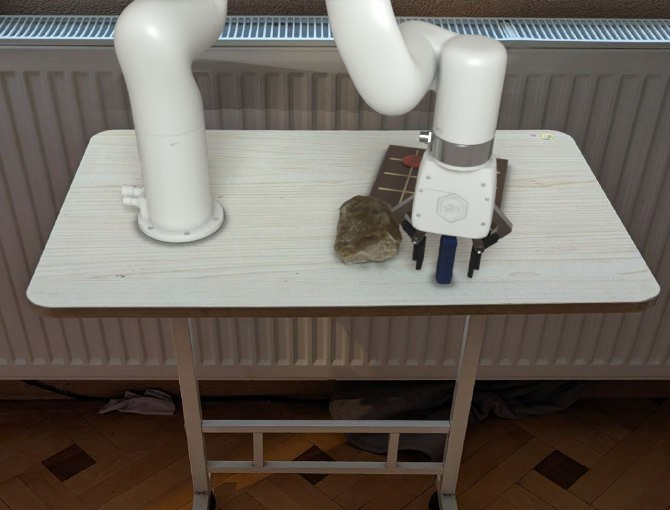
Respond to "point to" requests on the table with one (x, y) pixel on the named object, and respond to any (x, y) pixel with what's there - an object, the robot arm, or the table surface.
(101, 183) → the table surface
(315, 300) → the table surface
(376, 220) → the stone
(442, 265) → the eraser
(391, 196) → the board
